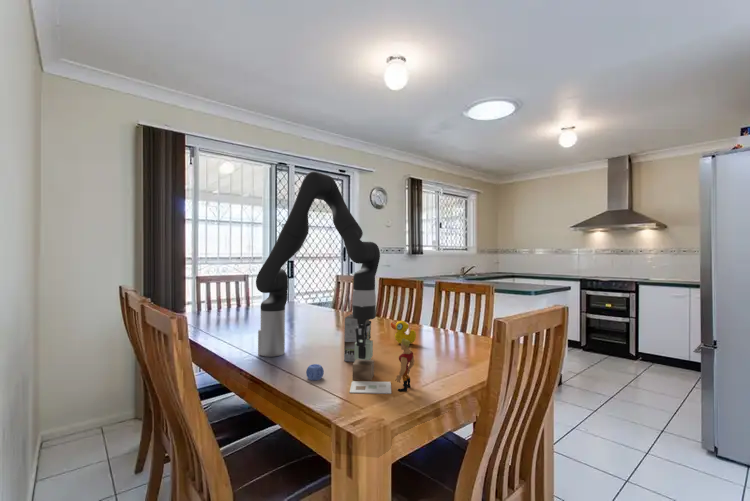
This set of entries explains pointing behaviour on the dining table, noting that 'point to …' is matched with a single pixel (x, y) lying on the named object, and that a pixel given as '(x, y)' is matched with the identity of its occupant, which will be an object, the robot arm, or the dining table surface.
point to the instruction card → (370, 387)
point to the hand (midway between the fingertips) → (363, 355)
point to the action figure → (405, 364)
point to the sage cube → (368, 350)
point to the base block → (363, 369)
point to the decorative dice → (315, 372)
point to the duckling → (402, 328)
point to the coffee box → (350, 338)
